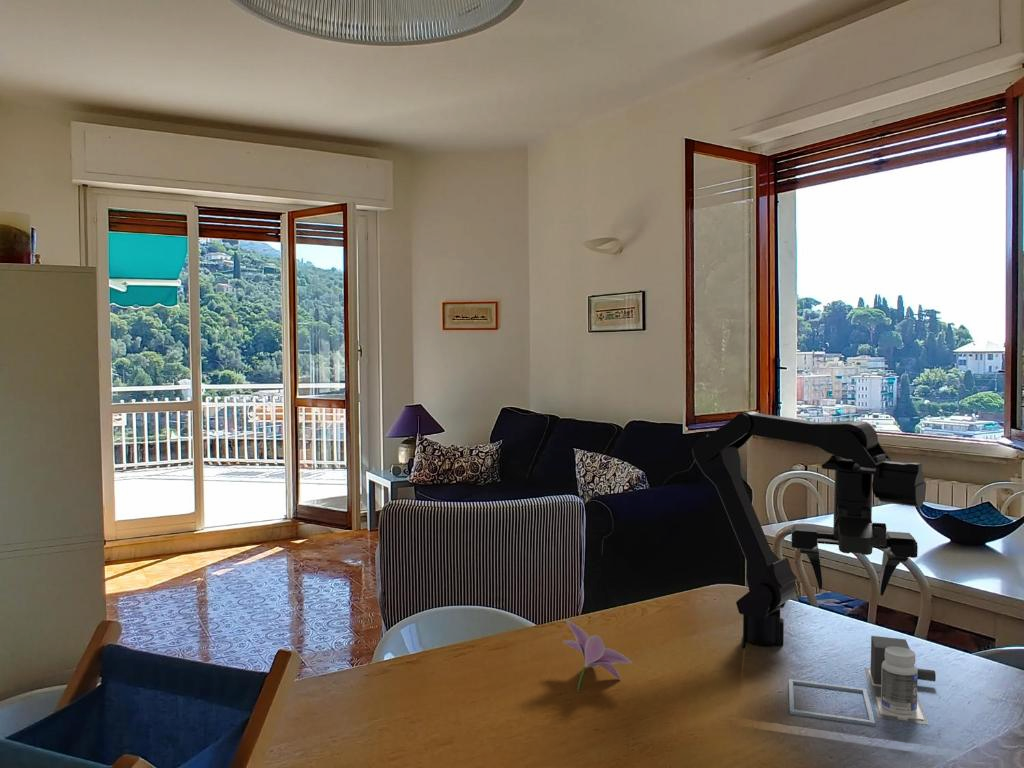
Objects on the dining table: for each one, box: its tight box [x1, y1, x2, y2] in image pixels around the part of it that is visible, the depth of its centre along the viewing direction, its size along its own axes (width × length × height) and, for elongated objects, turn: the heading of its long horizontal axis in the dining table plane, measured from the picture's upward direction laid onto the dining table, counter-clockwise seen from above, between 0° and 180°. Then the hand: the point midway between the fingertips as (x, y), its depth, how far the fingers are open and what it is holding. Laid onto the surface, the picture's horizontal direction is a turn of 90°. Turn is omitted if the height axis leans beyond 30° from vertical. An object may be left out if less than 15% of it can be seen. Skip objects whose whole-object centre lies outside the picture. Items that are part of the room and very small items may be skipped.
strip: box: [864, 667, 930, 726], centre depth 118 cm, size 6×18×1 cm, turn 161°
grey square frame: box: [788, 678, 876, 727], centre depth 115 cm, size 11×11×1 cm
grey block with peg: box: [870, 635, 937, 685], centre depth 122 cm, size 9×5×6 cm, turn 71°
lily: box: [562, 619, 633, 691], centre depth 124 cm, size 12×12×10 cm
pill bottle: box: [881, 646, 919, 714], centre depth 113 cm, size 5×5×8 cm
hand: (850, 591), depth 128 cm, fingers open, 9 cm apart
